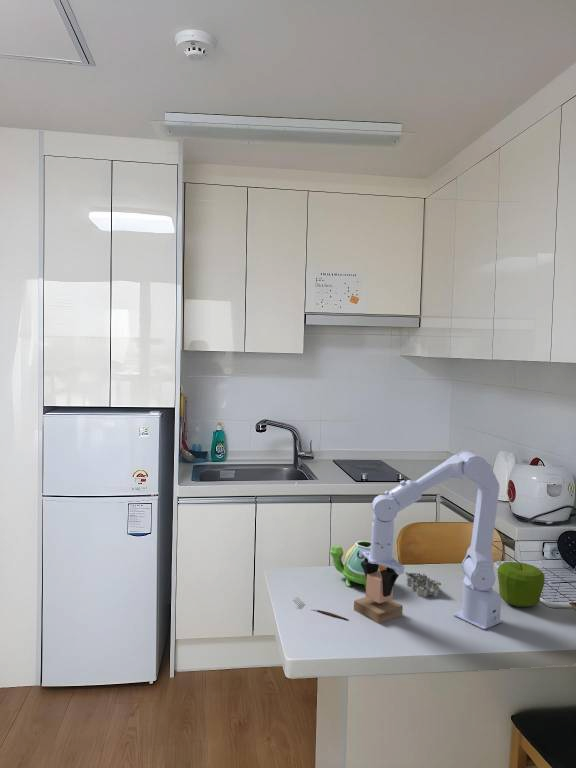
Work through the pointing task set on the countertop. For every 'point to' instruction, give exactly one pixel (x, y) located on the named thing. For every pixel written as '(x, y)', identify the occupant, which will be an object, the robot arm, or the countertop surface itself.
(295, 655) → the countertop surface
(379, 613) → the walnut block
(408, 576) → the egg carton
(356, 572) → the turtle holder
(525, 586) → the apple
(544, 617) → the countertop surface
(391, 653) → the countertop surface
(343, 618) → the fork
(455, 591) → the countertop surface
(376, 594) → the terracotta block
